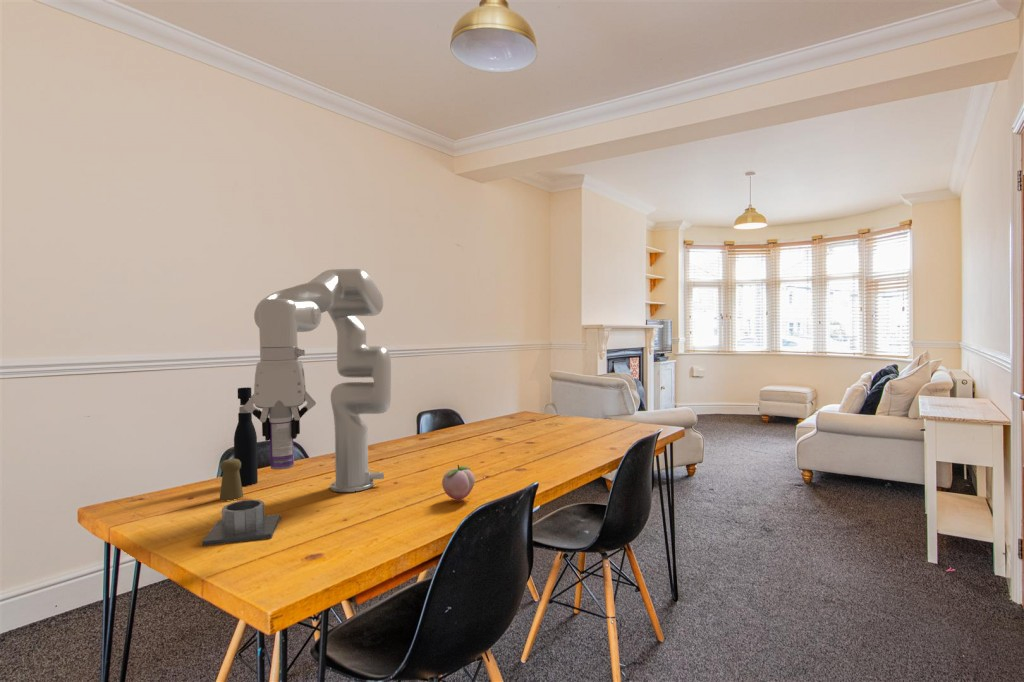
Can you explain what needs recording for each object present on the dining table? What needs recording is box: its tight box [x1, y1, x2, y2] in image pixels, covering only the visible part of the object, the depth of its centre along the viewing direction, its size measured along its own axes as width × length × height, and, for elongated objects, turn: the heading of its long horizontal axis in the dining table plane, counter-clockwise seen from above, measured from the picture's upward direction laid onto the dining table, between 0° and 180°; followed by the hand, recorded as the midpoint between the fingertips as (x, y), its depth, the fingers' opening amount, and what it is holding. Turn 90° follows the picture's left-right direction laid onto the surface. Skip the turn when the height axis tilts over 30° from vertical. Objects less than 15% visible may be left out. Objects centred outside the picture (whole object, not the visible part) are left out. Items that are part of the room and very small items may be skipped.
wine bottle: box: [233, 386, 259, 487], centre depth 165 cm, size 6×6×30 cm
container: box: [268, 400, 295, 471], centre depth 115 cm, size 5×5×15 cm
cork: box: [219, 458, 244, 501], centre depth 150 cm, size 6×6×11 cm
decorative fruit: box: [441, 464, 476, 502], centre depth 144 cm, size 9×8×10 cm
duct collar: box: [201, 499, 281, 547], centre depth 124 cm, size 14×14×6 cm
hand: (281, 437), depth 115 cm, fingers closed on container, 4 cm apart
